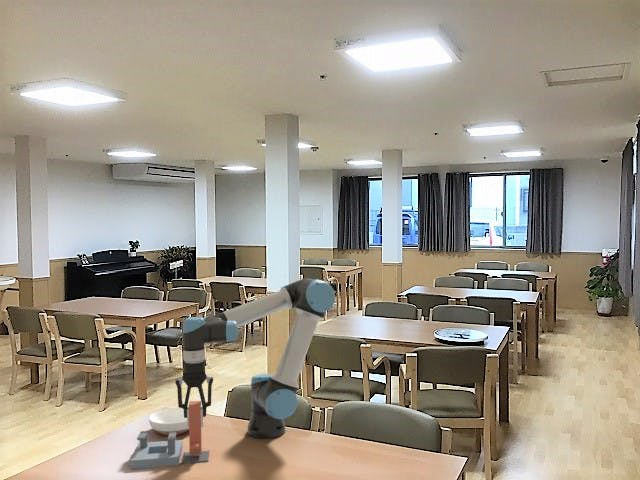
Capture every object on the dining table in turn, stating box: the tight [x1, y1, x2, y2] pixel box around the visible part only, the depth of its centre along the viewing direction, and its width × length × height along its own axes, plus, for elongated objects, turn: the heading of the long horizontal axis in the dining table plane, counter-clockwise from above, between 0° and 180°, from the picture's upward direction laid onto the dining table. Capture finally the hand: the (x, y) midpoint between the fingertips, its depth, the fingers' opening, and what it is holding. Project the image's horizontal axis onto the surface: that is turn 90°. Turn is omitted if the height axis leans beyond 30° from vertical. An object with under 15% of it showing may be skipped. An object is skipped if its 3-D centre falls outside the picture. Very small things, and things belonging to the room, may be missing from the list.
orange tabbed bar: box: [188, 400, 203, 455], centre depth 204 cm, size 12×4×18 cm, turn 9°
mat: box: [181, 450, 210, 465], centre depth 204 cm, size 9×9×1 cm
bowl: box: [148, 407, 189, 436], centre depth 232 cm, size 20×20×6 cm
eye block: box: [130, 430, 184, 470], centre depth 204 cm, size 16×16×8 cm
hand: (195, 425), depth 204 cm, fingers closed on orange tabbed bar, 4 cm apart
